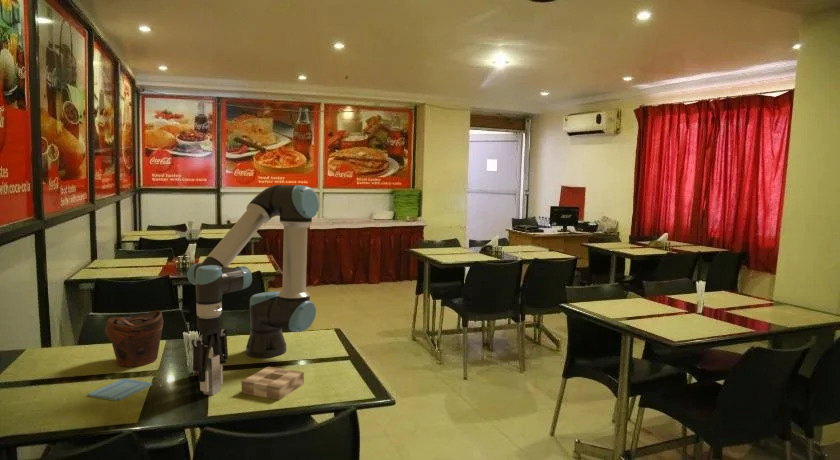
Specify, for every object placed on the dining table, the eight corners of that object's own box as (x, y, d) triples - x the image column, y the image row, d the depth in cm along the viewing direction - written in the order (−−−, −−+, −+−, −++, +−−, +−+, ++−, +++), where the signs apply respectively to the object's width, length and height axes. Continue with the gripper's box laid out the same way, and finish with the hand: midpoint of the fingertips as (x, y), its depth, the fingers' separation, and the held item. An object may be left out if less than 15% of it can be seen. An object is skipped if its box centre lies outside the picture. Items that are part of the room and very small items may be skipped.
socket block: (268, 377, 188) (267, 366, 187) (303, 383, 183) (303, 372, 182) (241, 393, 175) (241, 381, 174) (279, 400, 170) (279, 387, 169)
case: (93, 366, 196) (92, 317, 194) (140, 350, 215) (139, 304, 213) (131, 374, 190) (130, 323, 188) (175, 356, 208) (175, 310, 206)
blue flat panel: (118, 402, 168) (118, 398, 167) (87, 397, 171) (87, 393, 171) (152, 386, 180) (152, 382, 180) (123, 381, 184) (123, 378, 184)
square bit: (211, 389, 177) (210, 353, 176) (220, 391, 176) (219, 354, 175) (203, 393, 174) (202, 356, 172) (212, 395, 172) (211, 358, 171)
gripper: (197, 324, 162) (200, 400, 165) (239, 309, 180) (240, 378, 182) (177, 321, 165) (180, 396, 167) (220, 307, 182) (222, 375, 185)
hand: (211, 386), depth 175 cm, fingers open, 6 cm apart
